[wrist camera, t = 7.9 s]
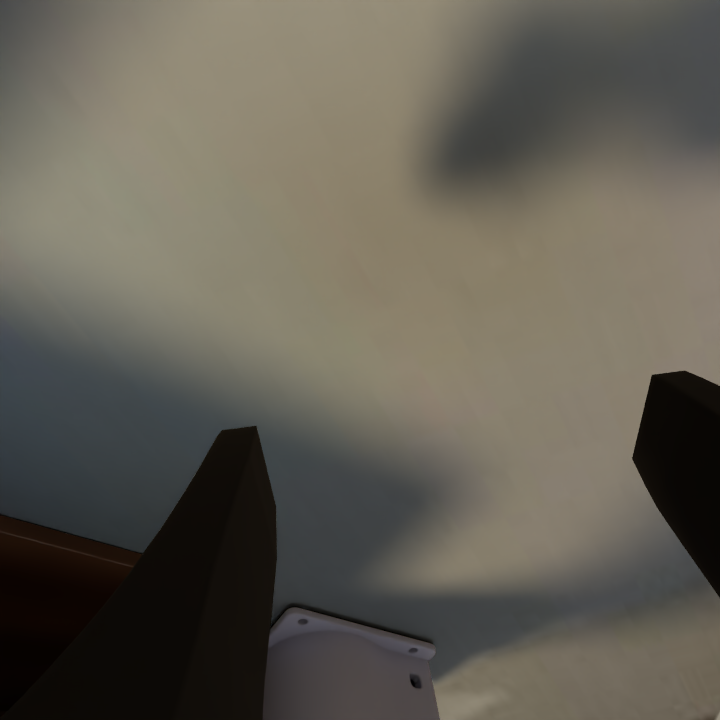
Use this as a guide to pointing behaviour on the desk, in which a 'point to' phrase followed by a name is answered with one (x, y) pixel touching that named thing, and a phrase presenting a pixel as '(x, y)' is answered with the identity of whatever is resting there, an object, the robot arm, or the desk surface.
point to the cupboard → (48, 597)
